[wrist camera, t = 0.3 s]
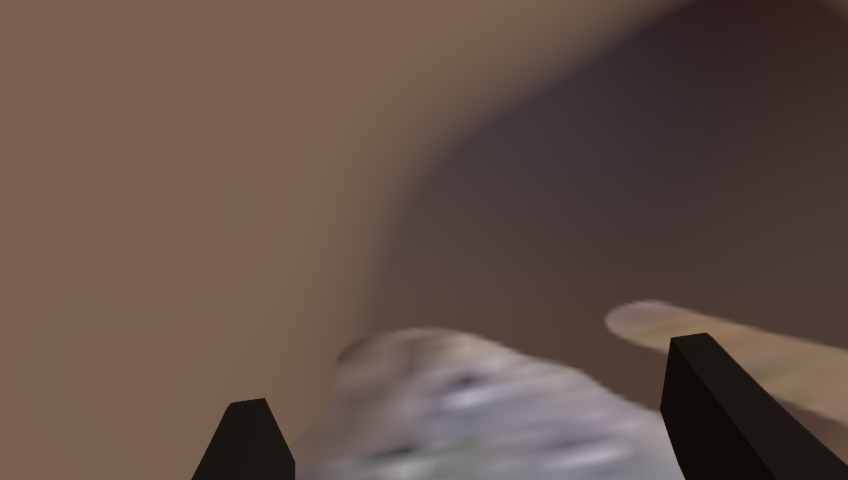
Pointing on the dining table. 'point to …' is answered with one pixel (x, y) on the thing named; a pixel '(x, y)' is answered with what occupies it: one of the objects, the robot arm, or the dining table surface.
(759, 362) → the dining table surface
